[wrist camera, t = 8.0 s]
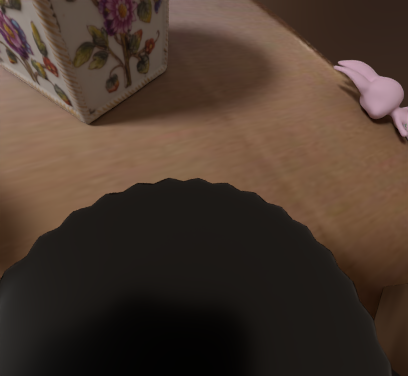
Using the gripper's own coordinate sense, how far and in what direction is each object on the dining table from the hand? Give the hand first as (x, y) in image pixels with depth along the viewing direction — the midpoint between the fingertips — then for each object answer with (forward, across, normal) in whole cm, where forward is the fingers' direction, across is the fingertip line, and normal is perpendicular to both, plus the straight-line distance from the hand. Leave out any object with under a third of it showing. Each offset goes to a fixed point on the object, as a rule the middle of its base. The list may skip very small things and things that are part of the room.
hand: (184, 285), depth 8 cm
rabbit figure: (+22, -20, -10) cm, 31 cm away
